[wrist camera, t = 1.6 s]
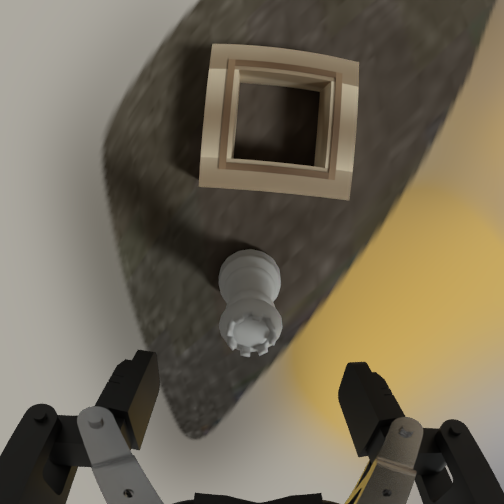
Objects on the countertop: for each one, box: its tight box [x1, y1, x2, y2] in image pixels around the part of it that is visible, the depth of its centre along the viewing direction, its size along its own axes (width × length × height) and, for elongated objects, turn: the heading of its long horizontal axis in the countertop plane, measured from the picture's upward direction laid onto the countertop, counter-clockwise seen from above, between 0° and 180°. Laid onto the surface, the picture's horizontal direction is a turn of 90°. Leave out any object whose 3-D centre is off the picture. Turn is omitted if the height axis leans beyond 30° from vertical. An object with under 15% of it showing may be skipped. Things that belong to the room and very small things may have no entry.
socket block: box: [199, 44, 359, 200], centre depth 17 cm, size 9×9×3 cm
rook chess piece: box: [218, 249, 283, 357], centre depth 18 cm, size 4×4×8 cm
